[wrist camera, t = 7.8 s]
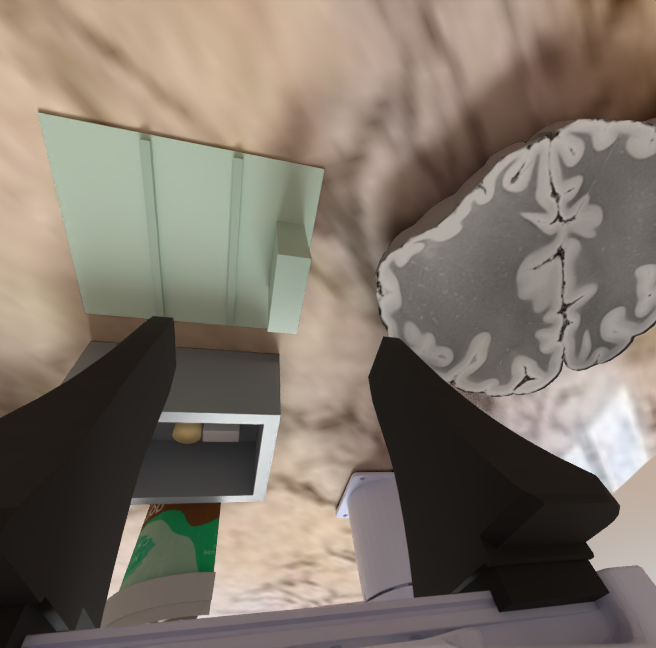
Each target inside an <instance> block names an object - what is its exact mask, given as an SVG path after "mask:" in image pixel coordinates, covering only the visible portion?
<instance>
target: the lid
mask: <svg viewBox="0 0 656 648" xmlns="http://www.w3.org/2000/svg"><path fill="white" fill-rule="evenodd" d="M37 113H38V117H39V121H40V125H41V129H42V134H43V138H44V142H45V146H46V150H47V155H48V159H49V163H50V167H51V171H52V176H53V180H54V184H55V188H56V192H57V197H58V201H59V205H60V209H61V213H62V218H63V222H64V226H65V230H66V234H67V239H68V243H69V247H70V251H71V255H72V260H73V264H74V268H75V272H76V276H77V281H78V285H79V289H80V293H81V297H82V302H83V306H84V310H85V313H86V314H98V315H109V316H121V317H133V318H145V319H149V318H151V317H152V316H160V317H171V318H174V321H180V322H192V323H204V324H216V325H226V326H239V327H251V328H263V329H268V332H277V333H289V334H297V331H298V326H299V320H300V315H301V310H302V305H303V300H304V294H305V289H306V284H307V279H308V274H309V269H310V263H311V255H310V250H309V249H310V244H311V238H312V233H313V228H314V222H315V217H316V211H317V206H318V201H319V195H320V190H321V185H322V179H323V174H324V169H323V168H318V167H313V166H307V165H302V164H297V163H292V162H287V161H282V160H277V159H272V158H267V157H262V156H257V155H252V154H247V153H242V152H237V151H232V150H227V149H222V148H217V147H212V146H207V145H202V144H197V143H192V142H187V141H182V140H177V139H172V138H167V137H162V136H156V135H151V134H146V133H141V132H136V131H131V130H126V129H121V128H116V127H111V126H106V125H101V124H96V123H91V122H86V121H81V120H76V119H71V118H66V117H61V116H56V115H51V114H46V113H41V112H37Z"/></svg>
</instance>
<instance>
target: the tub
mask: <svg viewBox="0 0 656 648" xmlns="http://www.w3.org/2000/svg"><path fill="white" fill-rule="evenodd" d="M118 344H119V343H109V342H94V341H91V342H90V343H89V345H88V346H87V348H86V349H85V350H84V352H83V353H82V355H81V356H80V358H79V359H78V361H77V362H76V363H75V365H74V366H73V368H72V369H71V371H70V372H69V374H68V375H67V376H66V378H65V379H64V381H63V382H62V384H63V383H65V382H67V381H68V380H70V379H71V378H73V377H74V376H76V375H77V374H79V373H80V372H81V371H83V370H84V369H86V368H87V367H89V366H90V365H91V364H93V363H94V362H96V361H97V360H98V359H100V358H101V357H102V356H104V355H105V354H106V353H108V352H109V351H110V350H112V349H113V348H114V347H115V346H117V345H118ZM175 350H176V369H175V373H174V378H173V382H172V385H171V389H170V393H169V396H168V398H167V401H166V403H165V406H164V408H163V411H162V413H161V416H160V418H159V421H158V424H157V426H156V429H155V431H154V434H153V436H152V439H151V441H150V444H149V446H148V449H147V451H146V454H145V456H144V459H143V462H142V465H141V468H140V471H139V475H138V479H137V482H136V486H135V489H134V493H133V496H132V500H131V504H130V505H140V504H178V503H216V502H254V501H264V499H265V494H266V489H267V484H268V479H269V473H270V468H271V463H272V458H273V452H274V447H275V442H276V437H277V431H278V426H279V421H280V416H281V412H280V366H279V354H265V353H251V352H237V351H222V350H208V349H194V348H180V347H175ZM62 384H61V385H62Z"/></svg>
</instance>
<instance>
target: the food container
mask: <svg viewBox="0 0 656 648" xmlns="http://www.w3.org/2000/svg"><path fill="white" fill-rule="evenodd" d="M220 506H221V502H216V503H178V504H150V507H149V510H148V513H147V515H146V518H145V521H144V524H143V526H142V529H141V532H140V535H139V537H138V540H137V543H136V546H135V548H134V551H133V554H132V557H131V559H130V562H129V565H128V568H127V570H126V573H125V576H124V579H123V581H122V584H121V587H120V590H119V592H117V593H115V594H114V595H113V596H111V597H110V598H109V599H108V600H107V601H106V604H105V609H104V613H103V617H102V622H101V626H100V628H108V627H118V626H128V625H139V624H149V623H159V622H170V621H180V620H190V619H196V618H197V616H198V615H209V611H210V603H211V600H212V593H213V587H214V580H215V573H216V572H214V564H215V555H216V545H217V535H218V526H219V516H220Z"/></svg>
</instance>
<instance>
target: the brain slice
mask: <svg viewBox="0 0 656 648" xmlns="http://www.w3.org/2000/svg"><path fill="white" fill-rule="evenodd" d="M374 277H375V281H376V284H377V292H376V294H377V301H378V309H379V315H380V318H381V321H382V324H383V325H384V326H385V327H386V329H387V333H388V337H395V338H400V339H401V340H402V341H403V342H404V343H405V344H406V345H408V346H409V347H410V348H411V349H412V350H413V351H414V352H415V353H416V354H417V355H418V356H419V357H420V358H421V359H422V360H423V361H424V362H425V363H426V364H427V365H428V366H429V367H431V368H432V369H433V370H434V371H435V372H436V373H437V374H438V375H439V376H440V377H441V378H442V379H444V380H445V381H446V382H447V383H448V384H449V385H451V384H452V385H455V386H456V388H457V389H460V390H462V391H464V392H470V393H485V394H487V395H488V396H492V397H501V396H509V395H512V394H516V395H524V394H529V393H533V392H537V391H539V390H541V389H543V388H545V387H546V386H548V385H549V384H550V383H551V382H553V381H554V380H555V379H556V378H557V377H558V376H559V374H560V372H561V371H562V366H563V360H564V362H565V365H566V366H567V367H568V368H570V369H572V370H576V371H581V370H586V369H588V368H590V367H592V366H595V365H597V364H602V363H605V362H608V361H611V360H612V359H614V358H615V357H617V356H618V355H620V354H621V353H622V352H624V351H625V350H626V349H627V348H628V347H629V345H630V344H631V343H632V342H633V340H634V337H636V336H638V335H641V334H643V333H645V332H647V331H648V330H649V329H651V328H652V327H653V326H654V325H655V324H656V118H653V119H649V120H646V121H642V122H640V121H633V120H605V119H603V118H598V119H574V120H566V121H557V122H554V123H552V124H550V125H548V126H545V127H544V128H543V129H541V130H540V131H539V132H537V133H536V134H535V135H533V136H532V137H531V138H529V140H528V141H527V142H518V143H514V144H511V145H509V146H507V147H505V148H504V149H502V150H500V151H498V152H496V153H495V154H493V155H491V156H490V157H489V159H488V160H487V162H486V164H485V165H484V166H482V167H481V168H480V169H479V170H478V171H477V172H476V173H474V174H473V175H472V176H471V177H470V178H469V179H468V180H466V181H465V182H464V183H463V184H462V186H461V187H460V188H459V189H458V191H457V192H456V193H455V194H453V195H451V196H449V197H447V198H445V199H443V200H442V201H440V202H439V203H437V204H436V205H435V206H433V207H432V208H430V209H429V210H428V211H427V212H426V213H425V214H424V215H423V216H422V217H421V218H420V219H419V220H418V221H417V222H416V223H415V224H414V225H413V226H411V227H410V228H408V229H406V230H404V231H402V232H401V233H400V234H399V235H397V236H396V237H395V238H394V240H393V241H392V243H391V244H390V246H389V248H388V250H387V251H386V252H385V253H384V254H383V256H382V258H381V259H380V262H379V264H378V267H377V270H376V273H375V276H374Z"/></svg>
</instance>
